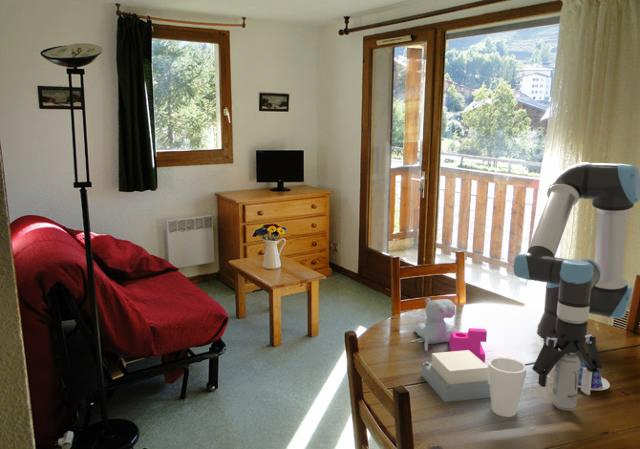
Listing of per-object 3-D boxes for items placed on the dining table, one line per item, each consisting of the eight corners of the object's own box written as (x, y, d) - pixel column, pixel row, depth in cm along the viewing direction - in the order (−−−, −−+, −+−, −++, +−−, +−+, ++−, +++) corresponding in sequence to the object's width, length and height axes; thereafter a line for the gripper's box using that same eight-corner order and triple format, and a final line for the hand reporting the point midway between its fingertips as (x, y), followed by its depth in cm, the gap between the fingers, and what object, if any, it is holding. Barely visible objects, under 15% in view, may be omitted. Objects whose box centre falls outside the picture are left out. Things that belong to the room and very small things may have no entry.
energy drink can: (572, 414, 136) (577, 360, 134) (548, 406, 140) (553, 354, 138) (578, 405, 141) (583, 353, 138) (555, 398, 145) (560, 347, 142)
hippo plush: (467, 341, 183) (469, 299, 181) (426, 352, 174) (427, 308, 171) (437, 327, 196) (438, 288, 194) (397, 337, 187) (398, 296, 184)
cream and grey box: (470, 371, 161) (471, 346, 159) (497, 396, 145) (499, 369, 144) (421, 375, 158) (422, 351, 156) (444, 402, 142) (446, 374, 141)
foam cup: (480, 402, 142) (483, 357, 140) (512, 400, 143) (516, 356, 141) (494, 420, 133) (497, 373, 131) (529, 419, 134) (533, 372, 132)
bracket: (484, 362, 168) (486, 332, 166) (452, 359, 169) (453, 330, 167) (479, 347, 180) (480, 318, 178) (448, 345, 181) (450, 317, 179)
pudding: (599, 374, 160) (601, 358, 159) (616, 394, 148) (618, 376, 147) (558, 372, 161) (560, 356, 160) (573, 391, 149) (574, 374, 148)
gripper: (601, 311, 142) (593, 384, 146) (522, 316, 137) (516, 392, 141) (622, 320, 135) (613, 397, 139) (539, 326, 130) (532, 406, 134)
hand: (564, 394), depth 140 cm, fingers open, 12 cm apart
